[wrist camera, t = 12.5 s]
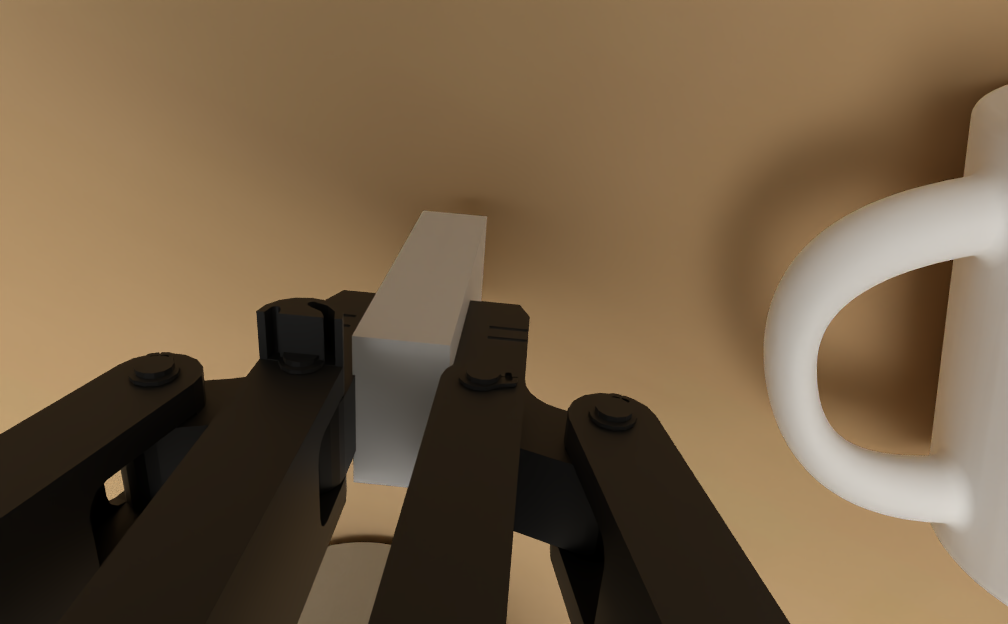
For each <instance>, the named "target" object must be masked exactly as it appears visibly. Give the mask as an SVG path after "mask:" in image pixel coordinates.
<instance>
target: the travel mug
mask: <svg viewBox="0 0 1008 624" xmlns="http://www.w3.org/2000/svg"><path fill="white" fill-rule="evenodd" d="M390 547H391V545H389V544H383V543H371V542H354V543H343V544H336V545H331V546H328V548H327V550H326V553H325V555H324V558H323V560H322V563H321V565H320V568H319V570H318V573H317V575H316V578H315V580H314V583H313V586H312V588H311V591H310V593H309V596H308V598H307V601H306V603H305V606H304V608H303V611H302V613H301V616H300V618H299V621H298V624H368V622H369V619H370V615H371V612H372V609H373V605H374V602H375V598H376V595H377V592H378V588H379V585H380V581H381V578H382V574H383V571H384V568H385V564H386V561H387V557H388V554H389V551H390Z"/></svg>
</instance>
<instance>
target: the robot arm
mask: <svg viewBox="0 0 1008 624" xmlns="http://www.w3.org/2000/svg"><path fill="white" fill-rule="evenodd" d="M486 227H487V216H478V215H467V214H456V213H445V212H434V211H422V213H421V215H420V217H419V218H418V220H417V222H416V224H415V226H414V227H413V229H412V231H411V233H410V234H409V236H408V238H407V240H406V241H405V243H404V245H403V247H402V248H401V250H400V252H399V254H398V256H397V257H396V259H395V261H394V263H393V264H392V266H391V268H390V270H389V271H388V273H387V275H386V277H385V278H384V280H383V282H382V284H381V286H380V287H379V289H378V291H377V293H368V292H358V291H347V290H343V291H341V292H340V293H338V294H336V295H334V296H332V297H330V298H328V299H326V301H325V300H320V299H315V298H291V299H284V300H278V301H275V302H272V303H269V304H266V305H265V306H263V307H262V308H260V309H259V310H257V311H256V313H257V326H258V340H259V354H260V359H259V361H258V362H257V363H256V365H255V366H254V367H253V368H252V370H251V371H250V372H249V374H248V375H247V376H246V377H241V378H234V379H221V380H207V381H204V373H203V366H202V365H201V364H200V363H199V361H198V360H197V359H194V358H192V357H189V356H187V355H182V354H174V353H170V352H161V354H159V353H150V354H147V355H146V356H141V357H137V358H133V359H131V360H129V361H126V362H124V363H122V364H119V365H118V366H116V367H114V368H112V369H111V370H109V371H107V372H106V373H104V374H102V375H101V376H99V377H97V378H95V379H94V380H92V381H90V382H89V383H87V384H85V385H83V386H82V387H80V388H78V389H77V390H75V391H73V392H72V393H70V394H68V395H66V396H65V397H63V398H61V399H60V400H58V401H56V402H55V403H53V404H51V405H49V406H48V407H46V408H44V409H43V410H41V411H39V412H38V413H36V414H34V415H32V416H31V417H29V418H27V419H26V420H24V421H22V422H20V423H19V424H17V425H15V426H14V427H12V428H10V429H9V430H7V431H5V432H3V433H2V434H0V624H298V621H299V618H300V616H301V613H302V611H303V608H304V606H305V603H306V601H307V598H308V596H309V593H310V591H311V588H312V586H313V583H314V580H315V578H316V575H317V573H318V570H319V568H320V565H321V563H322V560H323V558H324V555H325V553H326V550H327V548H328V545H329V543H330V540H331V537H332V535H333V532H334V530H335V527H336V525H337V522H338V520H339V517H340V515H341V512H342V510H343V507H344V505H345V502H346V473H347V471H348V469H349V466H350V464H351V461H352V459H353V461H354V482H358V483H368V484H378V485H388V486H398V487H407V488H408V489H407V493H406V496H405V500H404V503H403V506H402V510H401V513H400V517H399V520H398V523H397V527H396V530H395V534H394V537H393V540H392V544H391V547H390V551H389V554H388V557H387V561H386V564H385V568H384V571H383V574H382V578H381V581H380V585H379V588H378V592H377V595H376V598H375V602H374V605H373V609H372V612H371V615H370V619H369V622H368V624H506V617H507V604H508V592H509V579H510V567H511V555H512V542H513V531H515V532H518V533H521V534H524V535H526V536H529V537H532V538H535V539H537V540H540V541H543V542H546V543H548V544H550V558H551V561H552V565H553V568H554V571H555V574H556V577H557V580H558V584H559V587H560V590H561V593H562V596H563V599H564V603H565V606H566V609H567V612H568V615H569V618H570V622H571V624H790V623H789V621H788V620H787V618H786V616H785V615H784V613H783V612H782V610H781V609H780V607H779V606H778V604H777V603H776V601H775V599H774V598H773V596H772V595H771V593H770V592H769V590H768V589H767V587H766V585H765V584H764V582H763V581H762V579H761V578H760V576H759V575H758V573H757V572H756V570H755V568H754V567H753V565H752V564H751V562H750V561H749V559H748V558H747V556H746V555H745V553H744V551H743V550H742V548H741V547H740V545H739V544H738V542H737V541H736V539H735V537H734V536H733V534H732V533H731V531H730V530H729V528H728V527H727V525H726V524H725V522H724V520H723V519H722V517H721V516H720V514H719V513H718V511H717V510H716V508H715V507H714V505H713V503H712V502H711V500H710V499H709V497H708V496H707V494H706V493H705V491H704V489H703V488H702V486H701V485H700V483H699V482H698V480H697V479H696V477H695V476H694V474H693V472H692V471H691V469H690V468H689V466H688V465H687V463H686V462H685V460H684V459H683V457H682V455H681V454H680V452H679V451H678V449H677V448H676V446H675V445H674V443H673V442H672V440H671V438H670V437H669V435H668V434H667V432H666V431H665V429H664V428H663V426H662V424H661V423H660V421H659V420H658V418H657V417H656V415H655V414H654V413H653V412H652V411H651V410H650V409H649V408H648V407H647V406H645V405H643V404H641V403H640V402H638V401H636V400H634V399H632V398H629V397H626V396H621V395H619V394H614V393H611V394H606V393H597V394H590V395H584V396H582V397H580V398H578V399H576V400H574V401H573V402H572V404H571V405H570V407H569V408H568V411H566V410H562V409H559V408H556V407H553V406H551V405H548V404H546V403H544V402H542V401H540V400H539V399H537V398H536V397H535V396H534V395H532V394H531V393H530V392H529V390H528V388H527V387H526V383H525V371H526V358H527V345H528V331H529V319H530V317H529V316H528V314H527V313H526V312H525V311H524V309H523V308H522V307H521V306H520V305H515V304H504V303H494V302H483V301H481V300H482V285H483V271H484V256H485V242H486ZM119 470H121V474H122V479H123V485H124V491H123V492H122V493H121V494H119V495H118V496H117V497H116V498H114V499H112V500H110V501H109V500H108V499H107V497H106V492H105V486H104V483H105V482H106V480H107V479H109V478H110V477H111V476H113V475H114V474H115V473H117V472H118V471H119Z"/></svg>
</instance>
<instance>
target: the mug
mask: <svg viewBox="0 0 1008 624" xmlns="http://www.w3.org/2000/svg"><path fill="white" fill-rule="evenodd" d="M949 260H953V267H952V275H951V283H950V291H949V300H948V308H947V316H946V324H945V332H944V340H943V349H942V357H941V365H940V373H939V381H938V389H937V398H936V406H935V414H934V422H933V430H932V438H931V447H930V455H929V456H925V455H900V454H890V453H883V452H878V451H873V450H869V449H865V448H862V447H860V446H857V445H855V444H853V443H851V442H849V441H847V440H846V439H844V438H843V437H841V436H840V435H839V434H838V433H837V432H836V431H835V430H834V429H833V428H832V426H831V425H830V423H829V422H828V420H827V418H826V416H825V414H824V411H823V409H822V406H821V402H820V398H819V392H818V384H817V357H818V350H819V346H820V343H821V339H822V337H823V334H824V332H825V330H826V328H827V327H828V325H829V324H830V322H831V321H832V319H833V318H834V317H835V316H836V315H837V313H838V312H839V311H840V310H841V309H842V308H843V307H844V306H846V305H847V304H848V303H849V302H850V301H852V300H853V299H854V298H856V297H857V296H859V295H860V294H862V293H863V292H865V291H867V290H868V289H870V288H872V287H874V286H876V285H878V284H880V283H882V282H884V281H886V280H888V279H891V278H893V277H895V276H898V275H901V274H903V273H906V272H909V271H912V270H915V269H918V268H922V267H925V266H929V265H932V264H936V263H940V262H944V261H949ZM764 372H765V380H766V386H767V391H768V396H769V400H770V404H771V408H772V411H773V414H774V417H775V420H776V422H777V425H778V427H779V429H780V432H781V434H782V436H783V438H784V439H785V441H786V443H787V445H788V446H789V448H790V450H791V451H792V453H793V454H794V455H795V457H796V458H797V459H798V461H799V462H800V463H801V464H802V466H803V467H804V468H805V469H806V470H807V471H808V472H809V473H810V474H811V475H812V476H813V477H814V478H815V479H816V480H817V481H818V482H820V483H821V484H822V485H823V486H825V487H826V488H827V489H829V490H830V491H832V492H833V493H835V494H836V495H838V496H840V497H841V498H843V499H845V500H847V501H849V502H851V503H853V504H855V505H857V506H860V507H862V508H865V509H868V510H871V511H874V512H877V513H880V514H883V515H887V516H892V517H896V518H901V519H907V520H914V521H922V522H930V523H931V526H932V528H933V530H934V532H935V534H936V536H937V537H938V539H939V540H940V542H941V544H942V545H943V547H944V548H945V549H946V551H947V552H948V553H949V555H950V556H951V557H952V558H953V559H954V561H955V562H956V563H957V564H958V565H959V566H960V567H961V568H962V569H963V570H964V571H965V572H966V573H967V574H968V575H969V576H970V577H971V578H972V579H973V580H974V581H975V582H976V583H978V584H979V585H980V586H981V587H983V588H984V589H985V590H986V591H987V592H989V593H990V594H991V595H993V596H994V597H995V598H997V599H998V600H1000V601H1001V602H1002V603H1004V604H1005V605H1007V606H1008V85H1005V86H1002V87H1000V88H997V89H995V90H993V91H991V92H990V93H988V94H986V95H985V96H983V97H982V98H981V99H980V100H979V101H978V102H977V103H976V105H975V106H974V108H973V110H972V113H971V120H970V128H969V136H968V144H967V152H966V161H965V169H964V177H961V178H956V179H951V180H945V181H941V182H937V183H933V184H929V185H925V186H921V187H917V188H913V189H910V190H906V191H903V192H900V193H897V194H894V195H891V196H888V197H885V198H883V199H880V200H877V201H875V202H873V203H870V204H868V205H866V206H864V207H861V208H859V209H857V210H855V211H853V212H852V213H850V214H848V215H846V216H844V217H843V218H841V219H839V220H838V221H836V222H835V223H833V224H832V225H830V226H829V227H827V228H826V229H825V230H823V231H822V232H821V233H819V234H818V235H817V236H816V237H815V238H814V239H812V240H811V241H810V242H809V243H808V244H807V245H806V246H805V247H804V248H803V249H802V250H801V252H800V253H799V254H798V255H797V256H796V257H795V259H794V260H793V261H792V263H791V264H790V265H789V267H788V268H787V270H786V271H785V273H784V275H783V277H782V278H781V280H780V282H779V284H778V286H777V288H776V291H775V293H774V296H773V298H772V301H771V304H770V308H769V311H768V316H767V321H766V326H765V334H764Z"/></svg>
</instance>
